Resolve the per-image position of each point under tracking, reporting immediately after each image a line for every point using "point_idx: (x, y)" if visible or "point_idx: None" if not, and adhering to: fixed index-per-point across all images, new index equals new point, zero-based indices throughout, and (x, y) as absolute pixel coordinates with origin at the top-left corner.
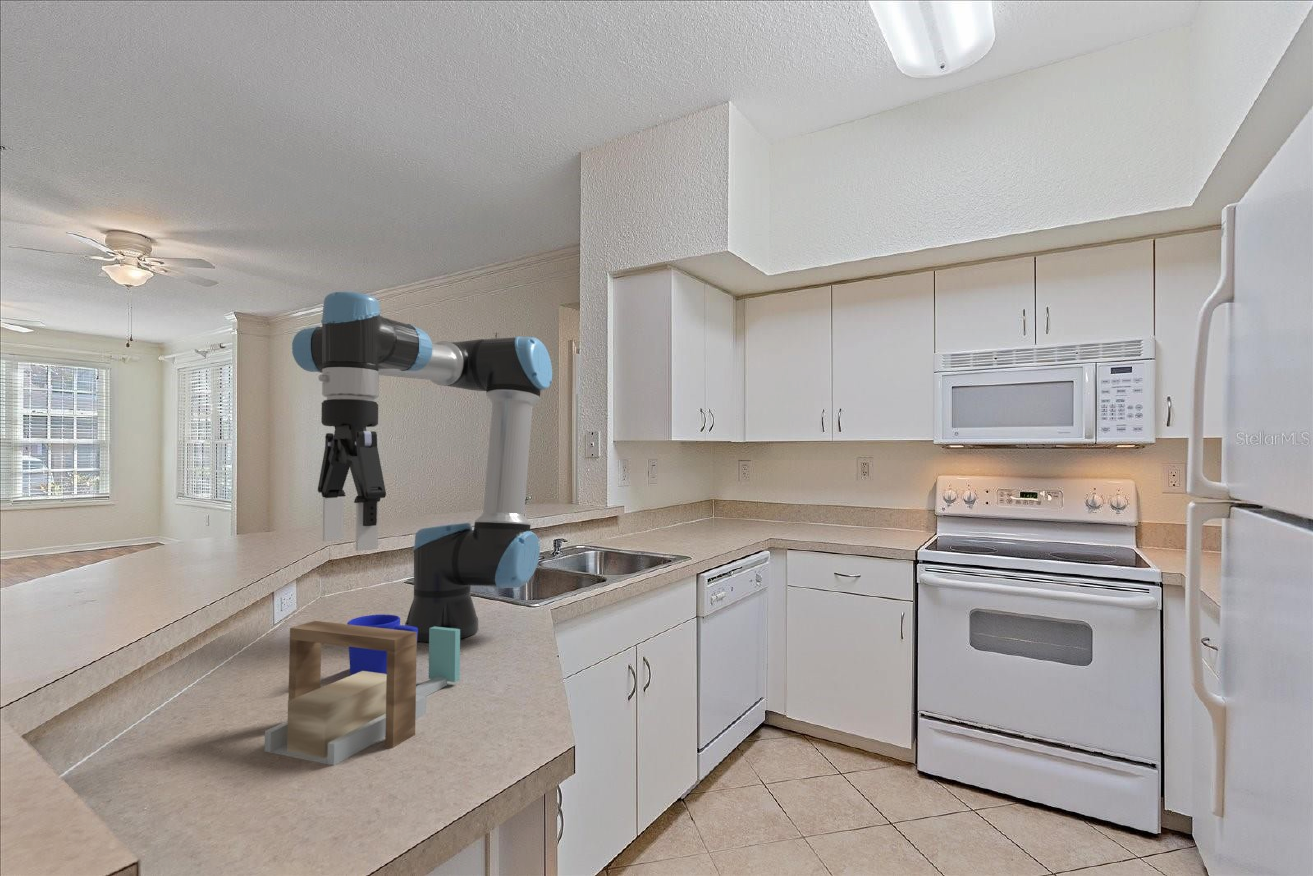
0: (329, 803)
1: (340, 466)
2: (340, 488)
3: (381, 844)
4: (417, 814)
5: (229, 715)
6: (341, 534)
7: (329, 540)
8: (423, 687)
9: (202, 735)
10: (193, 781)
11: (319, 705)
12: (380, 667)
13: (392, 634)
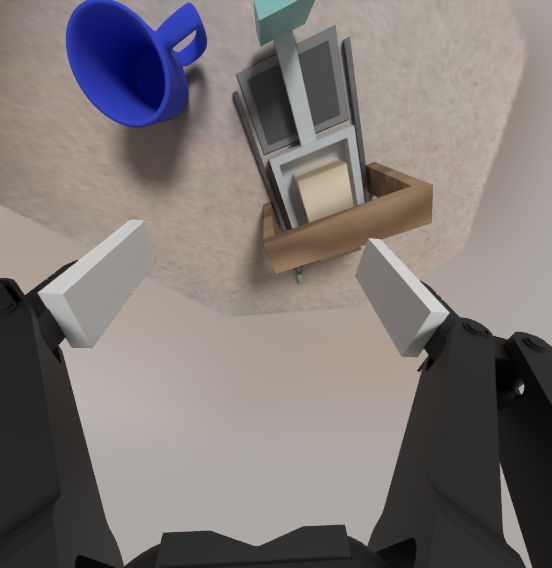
0: (388, 244)
1: (87, 506)
2: (38, 338)
3: (450, 244)
4: (450, 217)
5: (187, 241)
6: (140, 231)
7: (152, 253)
8: (299, 87)
9: (219, 263)
10: (293, 282)
11: (353, 251)
12: (185, 87)
13: (410, 212)
